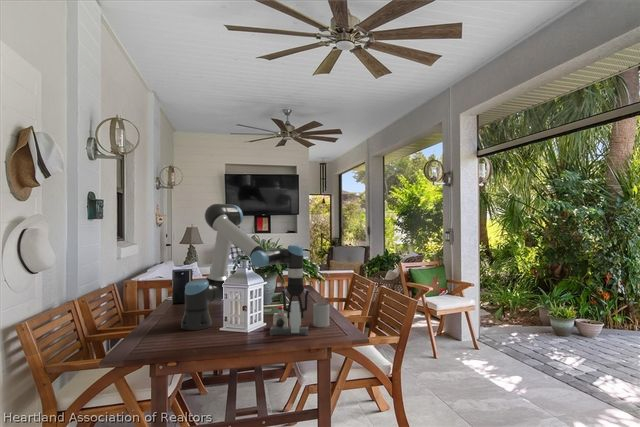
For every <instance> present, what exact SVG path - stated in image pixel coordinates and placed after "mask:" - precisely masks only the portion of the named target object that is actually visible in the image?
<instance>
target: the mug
mask: <svg viewBox="0 0 640 427" xmlns="http://www.w3.org/2000/svg"><path fill="white" fill-rule="evenodd" d="M312 311H313V321H312V322H313V326H314V327H316V328H327V327H330V304H329V303H327V302H316V303H314V304H313V310H312Z"/></svg>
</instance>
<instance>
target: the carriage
mask: <svg viewBox="0 0 640 427" xmlns="http://www.w3.org/2000/svg"><path fill="white" fill-rule="evenodd" d="M290 311H291V326H290V327H291V333H299V327H300V326H299V311H301V309H300V304H299V301H292V302H291V307H290Z"/></svg>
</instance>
